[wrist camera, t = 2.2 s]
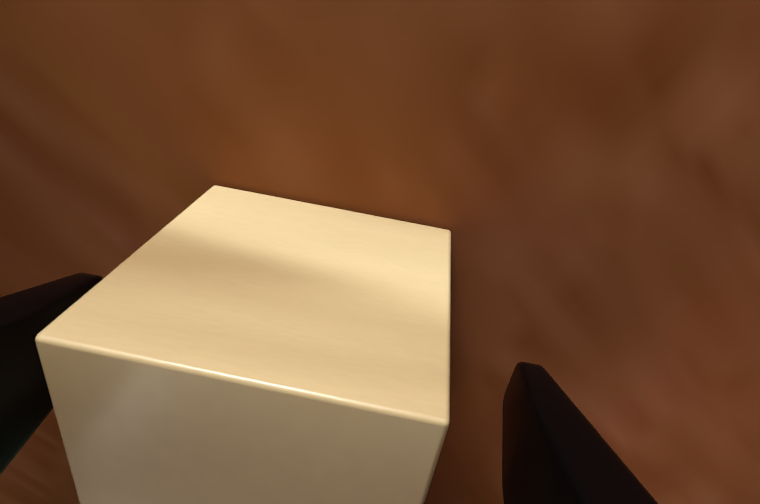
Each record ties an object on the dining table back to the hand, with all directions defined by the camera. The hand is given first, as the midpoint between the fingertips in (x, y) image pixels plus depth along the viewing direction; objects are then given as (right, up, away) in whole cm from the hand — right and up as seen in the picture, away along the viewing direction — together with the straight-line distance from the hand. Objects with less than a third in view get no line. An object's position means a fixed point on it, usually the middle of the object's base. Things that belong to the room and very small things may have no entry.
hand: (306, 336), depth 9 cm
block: (0, +1, +1) cm, 1 cm away
